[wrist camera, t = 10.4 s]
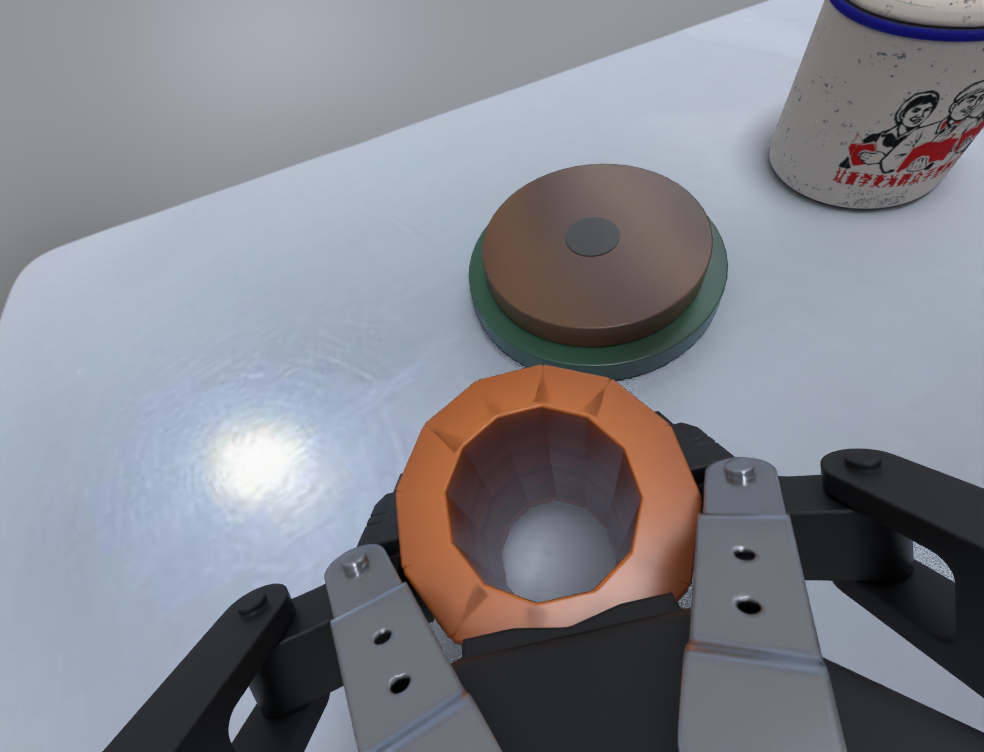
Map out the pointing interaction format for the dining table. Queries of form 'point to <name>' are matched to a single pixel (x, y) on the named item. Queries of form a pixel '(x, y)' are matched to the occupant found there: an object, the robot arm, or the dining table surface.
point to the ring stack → (598, 271)
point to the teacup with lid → (882, 101)
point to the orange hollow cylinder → (542, 496)
